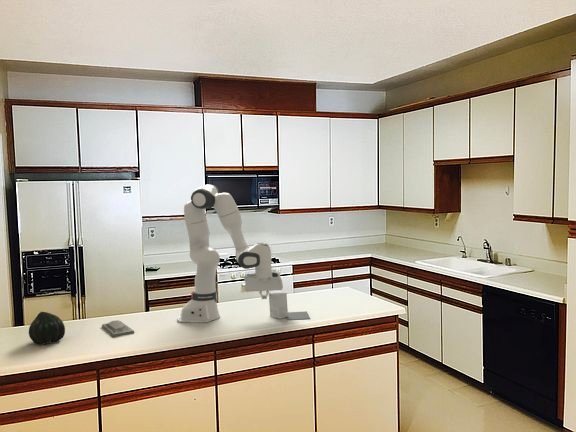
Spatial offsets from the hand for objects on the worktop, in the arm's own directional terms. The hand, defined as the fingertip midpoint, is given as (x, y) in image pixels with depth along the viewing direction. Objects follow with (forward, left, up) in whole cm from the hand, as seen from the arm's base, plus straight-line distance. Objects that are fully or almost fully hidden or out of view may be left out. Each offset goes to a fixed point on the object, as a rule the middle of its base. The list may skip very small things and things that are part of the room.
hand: (264, 298), depth 248 cm
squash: (-103, -21, -10) cm, 106 cm away
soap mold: (-74, -9, -11) cm, 76 cm away
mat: (+18, -1, -10) cm, 20 cm away
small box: (+8, 0, -10) cm, 13 cm away
